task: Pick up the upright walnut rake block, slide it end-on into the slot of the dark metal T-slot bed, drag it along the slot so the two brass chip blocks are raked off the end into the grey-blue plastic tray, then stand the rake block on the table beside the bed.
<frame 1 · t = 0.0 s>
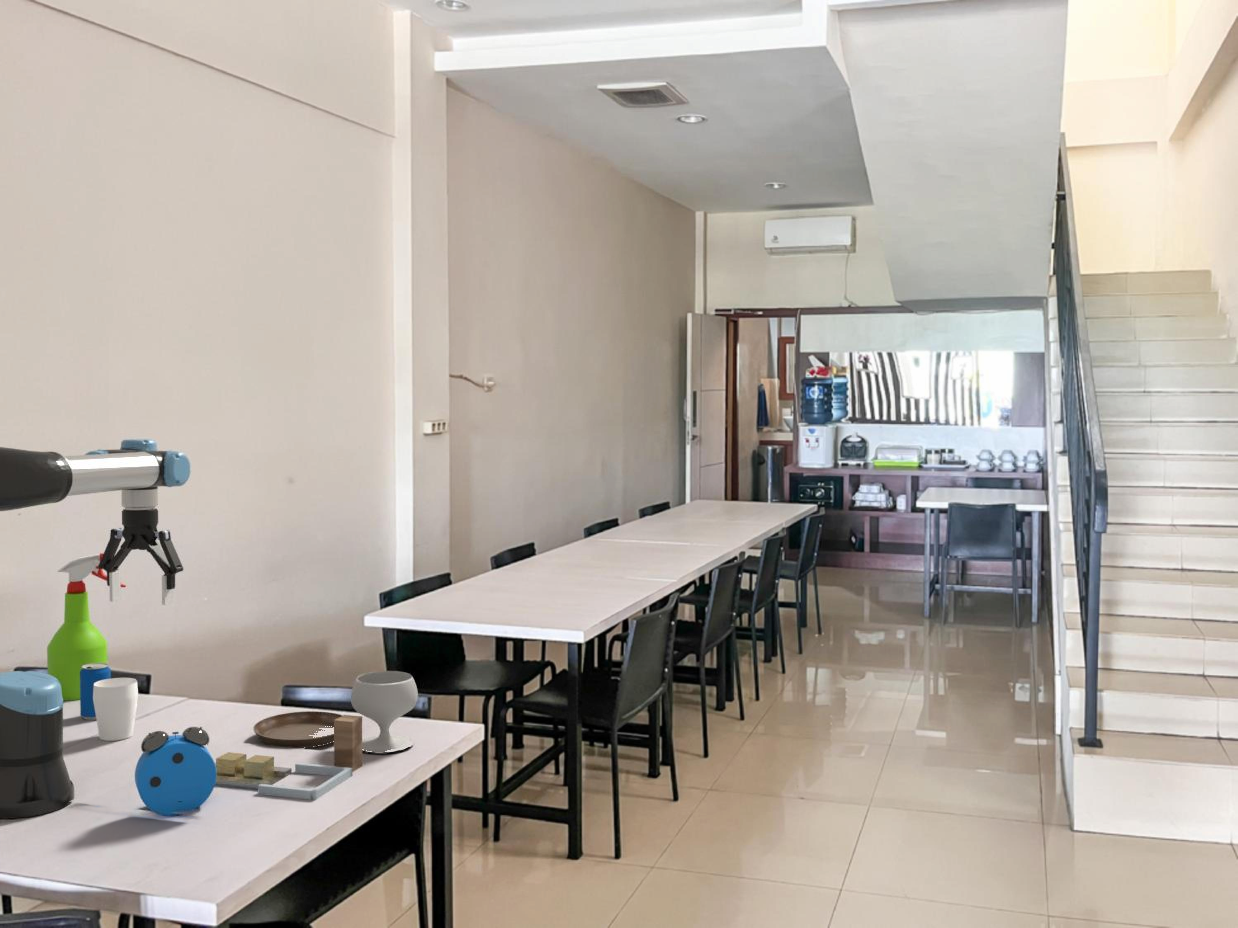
hand: (141, 602, 256), 28 cm above the table, fingers open, 13 cm apart
plant saucer: (303, 739, 249), on the table
alarm clock: (176, 812, 203), on the table
beverage can: (95, 717, 264), on the table
chip front: (259, 779, 218), point 1 cm above the table, touching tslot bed
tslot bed: (240, 782, 219), on the table
rake block: (348, 772, 226), on the table
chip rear: (231, 776, 220), point 1 cm above the table, touching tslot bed
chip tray: (306, 789, 216), on the table
chalice: (384, 747, 243), on the table
spray bottle: (88, 693, 285), on the table
cup: (116, 737, 248), on the table
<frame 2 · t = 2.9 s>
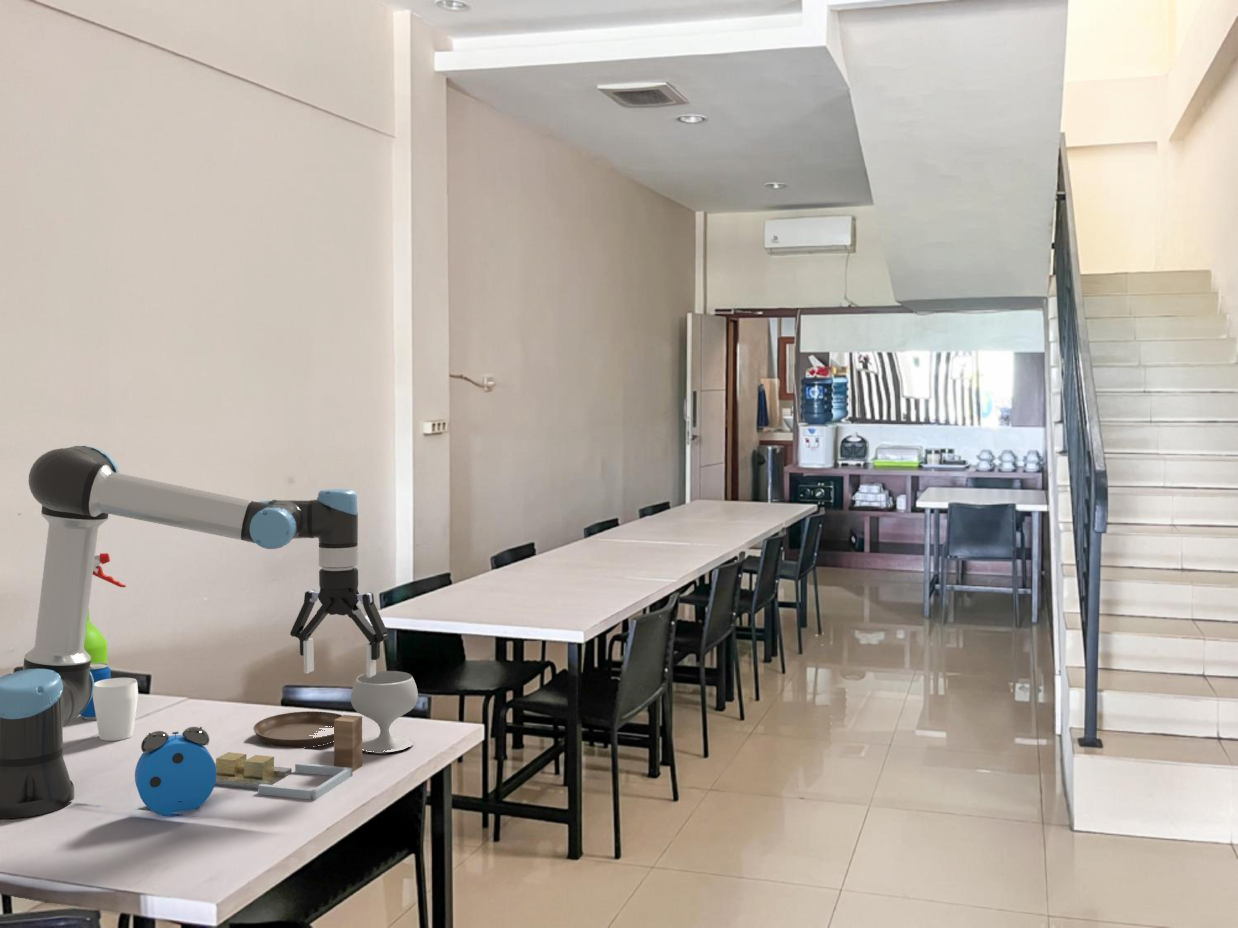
hand: (339, 673, 226), 19 cm above the table, fingers open, 13 cm apart
nothing on the table moved.
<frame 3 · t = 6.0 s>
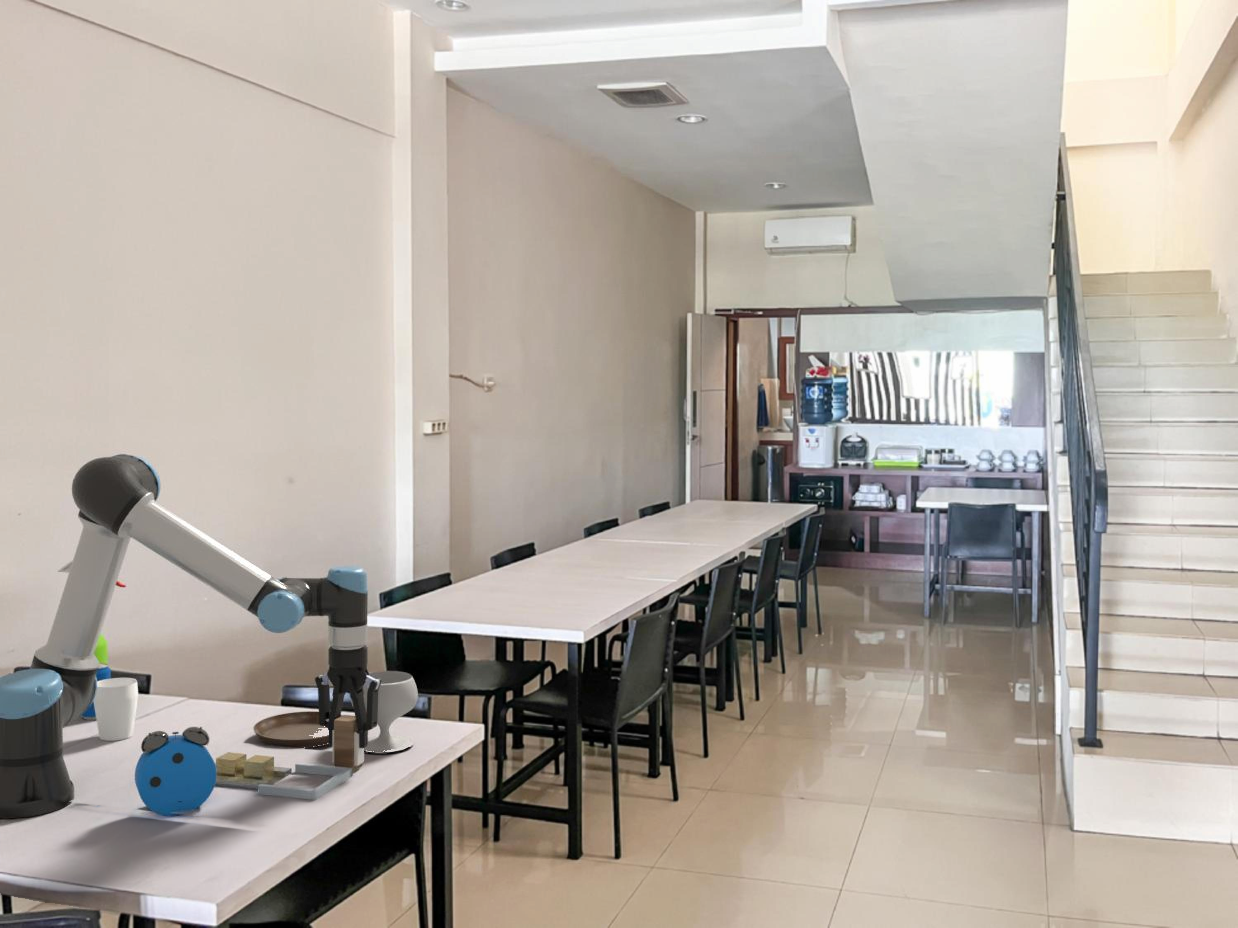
hand: (348, 762, 225), 2 cm above the table, fingers closed on rake block, 4 cm apart
rake block: (348, 772, 226), on the table, touching gripper
everything else where it was.
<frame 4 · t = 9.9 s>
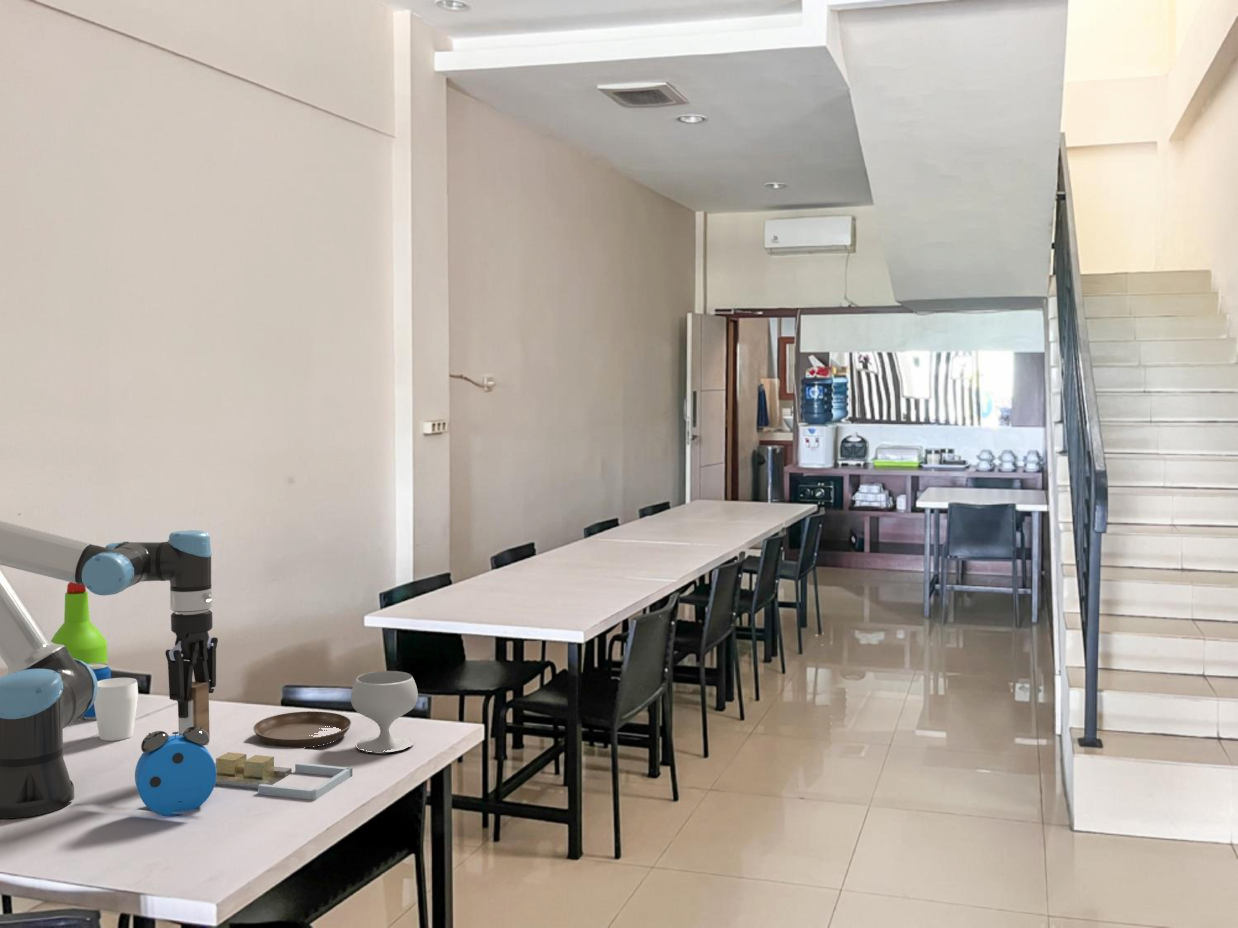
hand: (194, 729, 221), 9 cm above the table, fingers closed on rake block, 4 cm apart
rake block: (194, 740, 221), point 7 cm above the table, touching gripper
everything else where it was.
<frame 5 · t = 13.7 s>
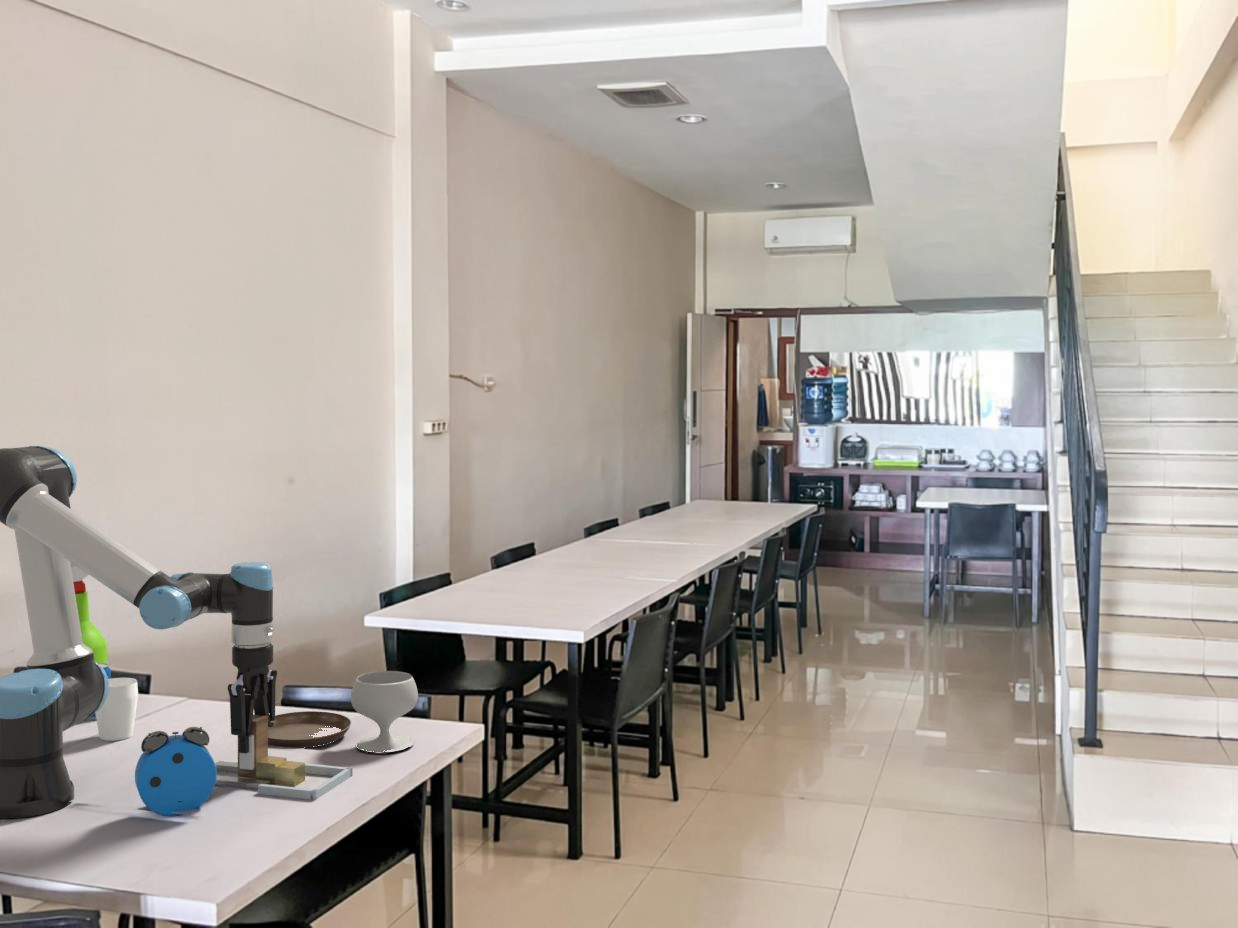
hand: (253, 764, 218), 4 cm above the table, fingers closed on rake block, 4 cm apart
chip front: (290, 785, 217), resting on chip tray, touching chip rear
rake block: (252, 774, 218), point 2 cm above the table, touching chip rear, gripper
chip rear: (271, 780, 217), point 1 cm above the table, touching chip front, rake block
everything else where it was.
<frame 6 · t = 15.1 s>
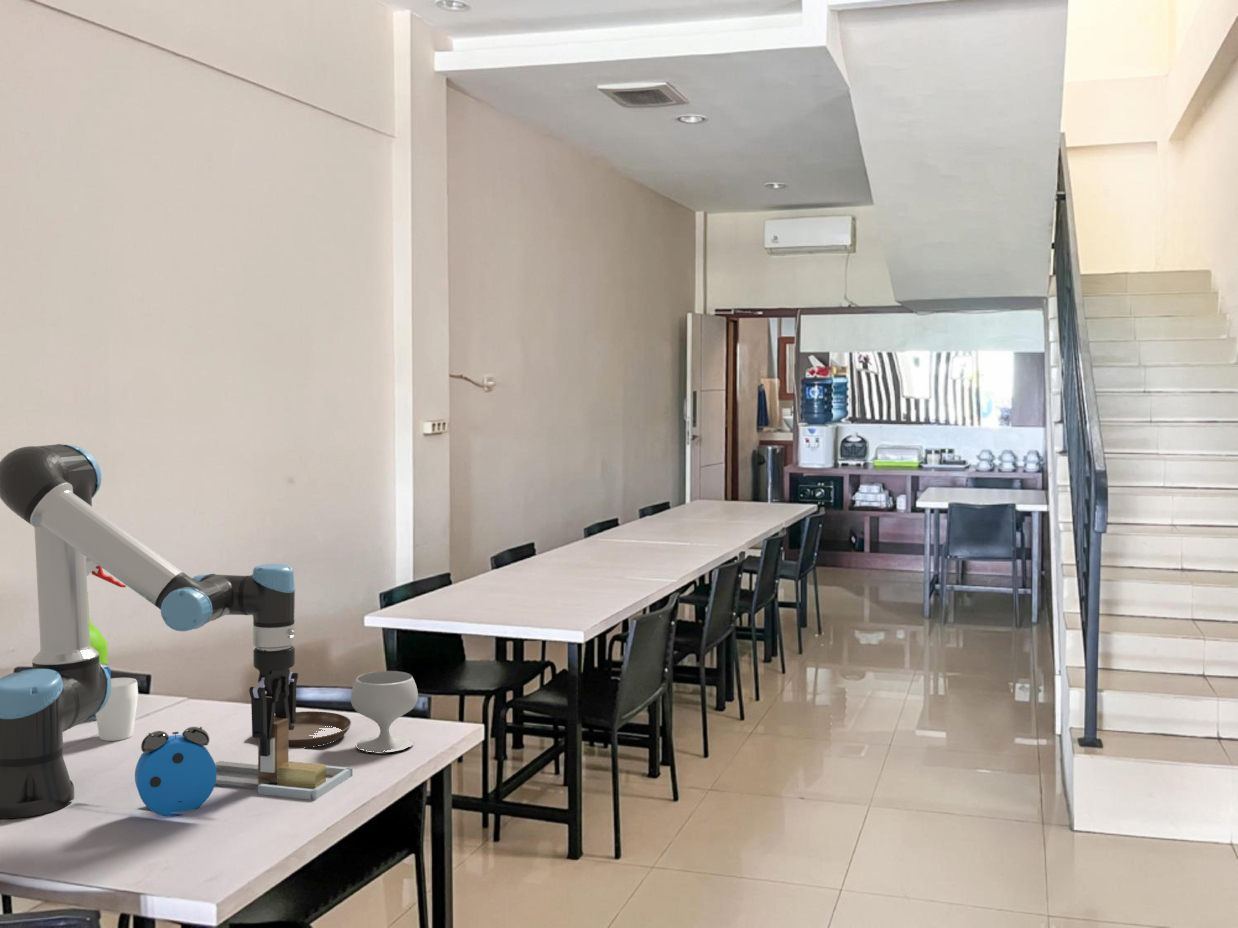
hand: (274, 767, 217), 4 cm above the table, fingers closed on rake block, 4 cm apart
chip front: (311, 787, 215), resting on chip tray, touching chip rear
rake block: (273, 776, 217), point 2 cm above the table, touching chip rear, gripper
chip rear: (292, 785, 216), resting on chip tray, touching chip front, rake block
everything else where it was.
when the fingers open (3 cm above the table, at t = 20.2 s): rake block drops 1 cm, on the table.
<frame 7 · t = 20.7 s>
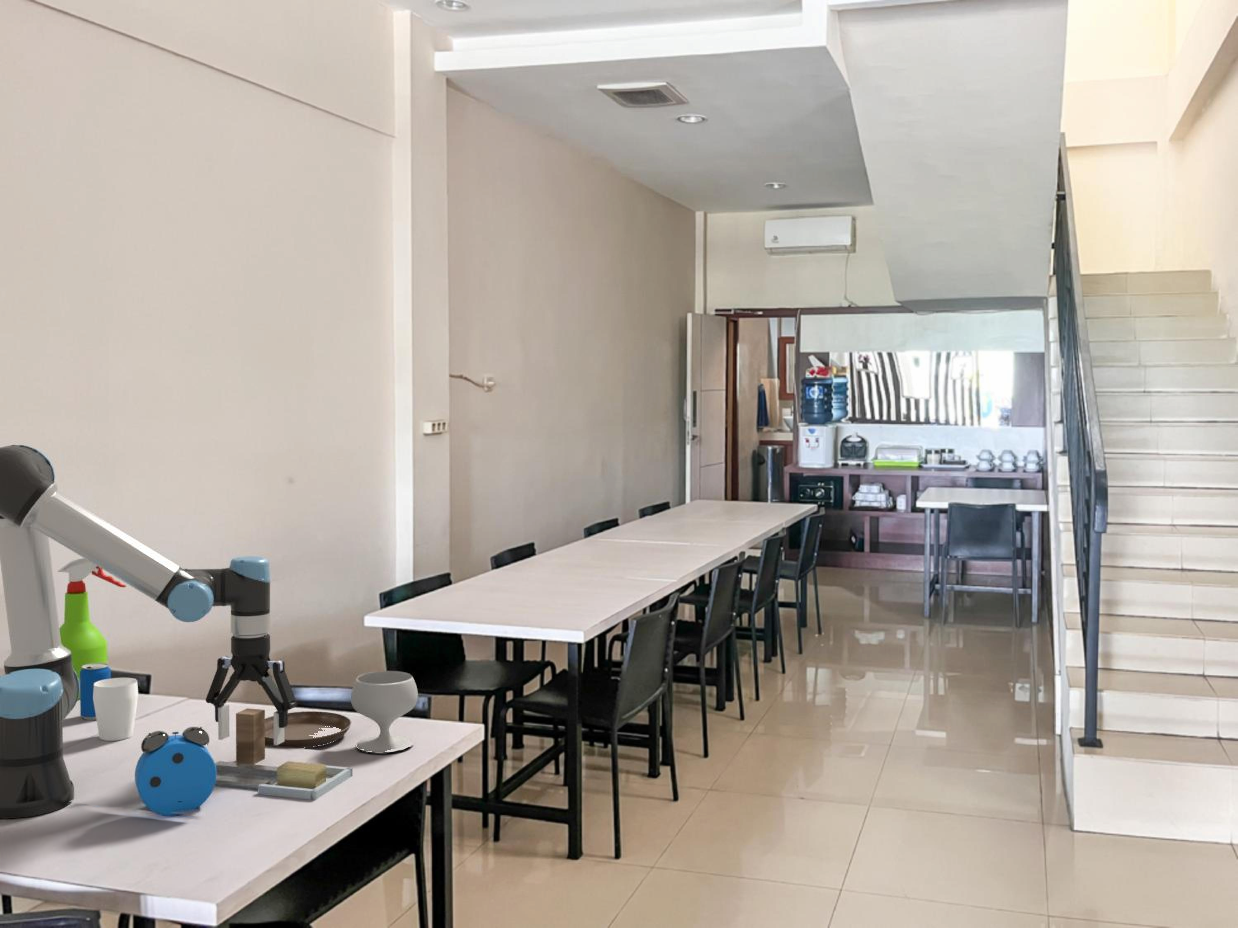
hand: (251, 740, 230), 5 cm above the table, fingers open, 12 cm apart
chip front: (311, 787, 215), resting on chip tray
rake block: (250, 765, 230), on the table
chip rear: (292, 785, 216), resting on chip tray
everything else where it was.
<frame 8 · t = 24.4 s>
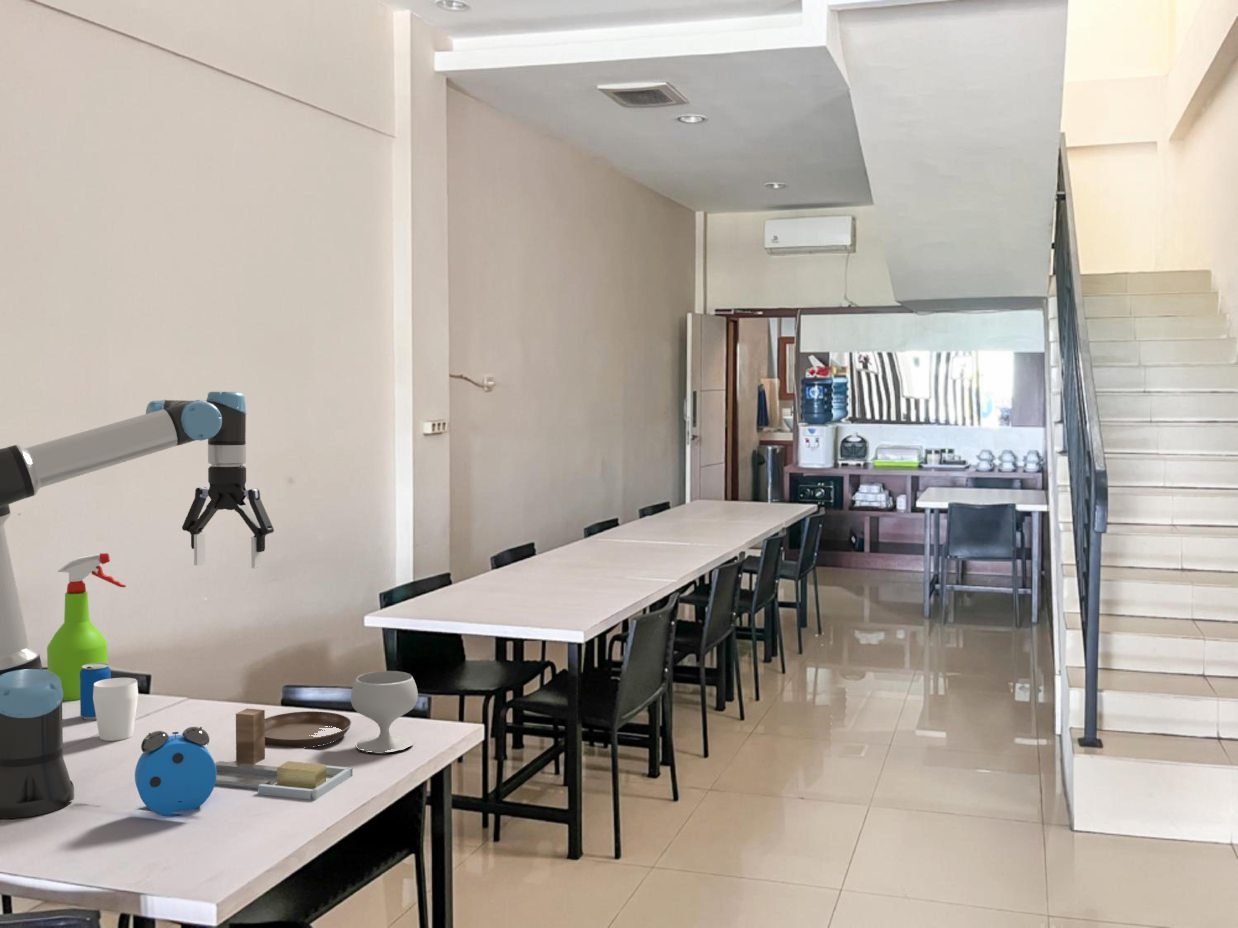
hand: (228, 566, 239), 39 cm above the table, fingers open, 13 cm apart
nothing on the table moved.
at the end: chip front inside the target area (0.9 cm from its centre), resting on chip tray; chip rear inside the target area (3.2 cm from its centre), resting on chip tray; the gripper is holding nothing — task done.
